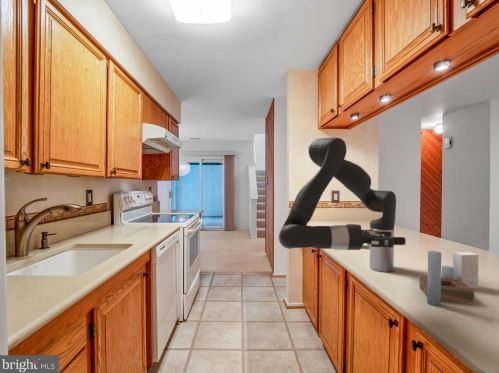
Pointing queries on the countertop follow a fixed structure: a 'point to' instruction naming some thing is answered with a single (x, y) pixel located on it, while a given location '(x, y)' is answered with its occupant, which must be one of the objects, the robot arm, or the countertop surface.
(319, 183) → the robot arm
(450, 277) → the short pin
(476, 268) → the skincare box
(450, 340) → the countertop surface
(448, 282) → the socket block
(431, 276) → the long pin
